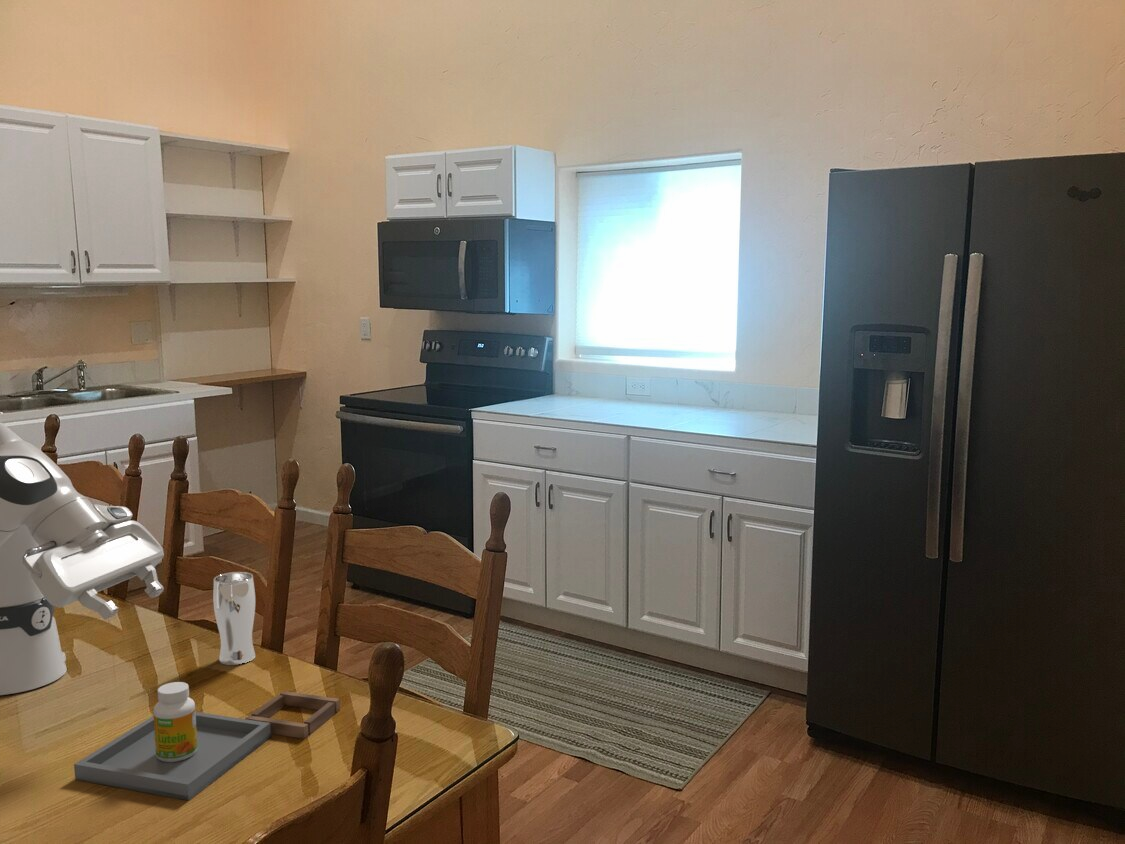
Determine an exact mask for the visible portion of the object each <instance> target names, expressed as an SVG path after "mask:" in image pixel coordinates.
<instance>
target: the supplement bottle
mask: <svg viewBox="0 0 1125 844" xmlns="http://www.w3.org/2000/svg"><path fill="white" fill-rule="evenodd" d="M189 687H190V686H189V684H188V683H186V682H183V681H174V682H169V683H165V684H162V685H160V686H159V687H158V689H157V700H158V702H157V703H156V704H155V705H154V707H153V715H152V716H154V731H155V749H156V757H157V758H158V759H159V760H160V761H163V762H177V761H181V760H185V759H187V758H189V757H191V756H193V755H194V754H195V753H196V751H197V730H196V713H195V712H196V703H195V701H194V699H192V697H191V698H190V688H189Z"/></svg>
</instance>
